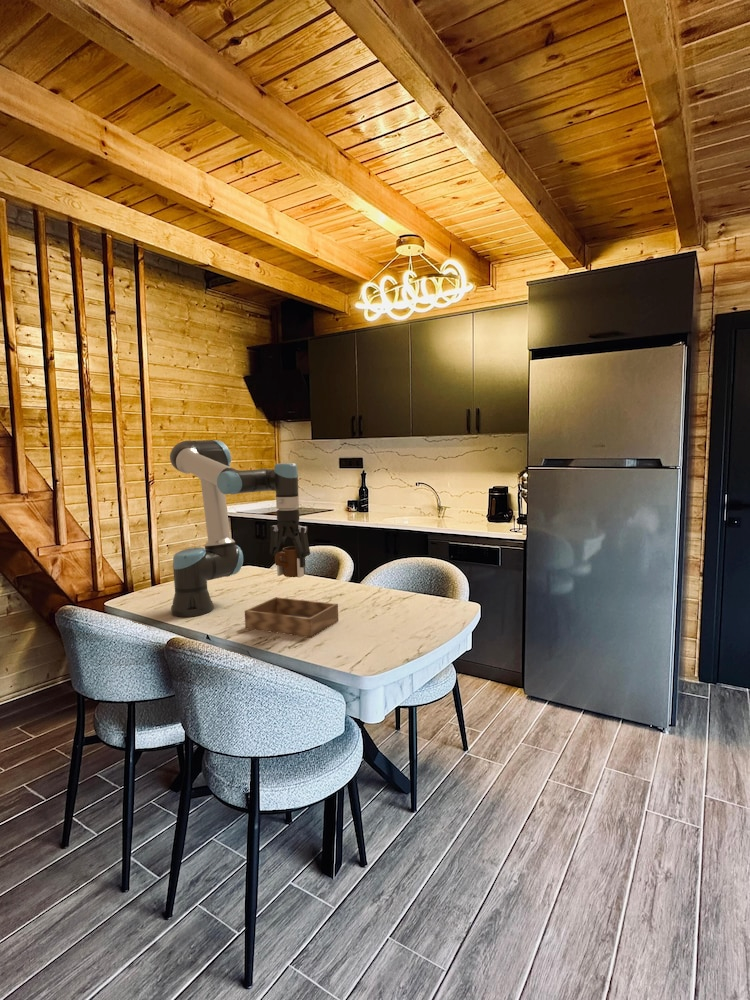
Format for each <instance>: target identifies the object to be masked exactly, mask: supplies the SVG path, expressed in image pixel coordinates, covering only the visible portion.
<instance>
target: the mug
mask: <svg viewBox="0 0 750 1000" xmlns="http://www.w3.org/2000/svg"><path fill="white" fill-rule="evenodd" d="M280 556H282V560H283V561H280V559H279V557H280ZM298 557H299V556H298V553H297V550H296V548H295V545H292V546H287V547H285V546H284V547H283V549H282V551H281V552H278V553H277V554H276V555H275V556H274V564H275V563H276V564H277V565H278V566H283V576H284V577H287V578H298V572H297V558H298ZM276 564H275V565H276ZM277 565H276V566H277ZM305 574H306V566H305V567H304V575H305Z"/></svg>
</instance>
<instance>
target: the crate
mask: <svg viewBox="0 0 750 1000" xmlns="http://www.w3.org/2000/svg"><path fill="white" fill-rule="evenodd" d="M290 614H296V615H304V616H312V617H310V618H306V617H298V616H289V615H290ZM338 621H339V604H338V603H332V602H323V601H322V602H321V601H314V600H304V599H297V598H296V599H295V598H288V597H287V598H286V597H279V596H278V597H277V596H276V597H273V598H271V599H268V600H266V601H264V602H262V603H260V604H258V605H255V606H253V607H250V608H248V609H246V610H244V623H245V626H244V627H245V629H247V628H248V629H247V630H254V629H256V630H257V631H261V630H264V631H263V632H268V631H271V632H270V633H275V632H278V633H277V634H282V633H285V634H284V635H289V634H292V635H291V636H296V635H300V636H299V637H303V636H307V637H306V638H310V637H311V638H313V637H315V636H316V635H318V634H320V633H321V632H323V631H325V630H326V629H327V627H328V628H329V627H331V626H333V625H334V624H336V623H338ZM325 628H326V629H325ZM256 630H255V631H256ZM322 630H323V631H322ZM319 632H320V633H319ZM317 633H318V634H317ZM314 635H315V636H314ZM312 636H313V637H312Z"/></svg>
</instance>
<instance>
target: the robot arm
mask: <svg viewBox="0 0 750 1000" xmlns="http://www.w3.org/2000/svg"><path fill="white" fill-rule="evenodd" d="M172 447H173V448H172V449H171V451H170V454H169V461H170V463H171V466H172V467H173V468H174V469H175V470H177V471H179V472H180V473H183V474H186V475H187V474H192V475H195V476H196V477H197V478H198V479H199V480H200V486H201V492H202V493H201V494H202V502H203V510H204V519H205V525H206V526H205V527H206V533H207V534H206V535H207V541H206V543H205V544H204V547H201V546H200V547H199V546H197V547H191V548H186V549H183V550H179V551H178V552H176V553H175V554H174V556H173V558H172V559H173V560H172V568H173V569H172V570H173V583H174V585H173V586H174V594H173V600H172V605H171V607H170V613H171V615H172V616H175V617H178V616H179V618H189V617H198V616H202V615H206V614H208V613H210V612H212V611H213V610H214V602H213V600H212V598H211V595H210V593H209V590H208V581H213V580H216V579H220V578H224V577H225V578H226V577H231V576H232V575H236V574H238V573H239V572H240V570H242V568H243V563H244V554H243V550H242V549H241V547H240V546H239V545H237V544H236V541H235V540H234V539H233V538H231V533H230V522H229V517H228V516H229V515H228V507H227V497H226V495H239V494H245V493H246V494H247V493H256V492H275V498H276V499H275V500H276V502H275V503H276V504H275V505H276V509H277V510H276V520H277V524H275V525H270V526H269V529H270V543H269V554H270V555H273V556H274V557H275V555H276V554H277V553H278V552H281V551H282V549H283V548H284V547H285V546H284V545H285V542H286V539H287V538H288V537H289V538H290V539H291V540H292V542H293V544H294V545H293V546H295V548H296V550H297V553H298V556H299V557H298V558H297V572H298V577H297V578H302V577H304V576H305V574H304V567H305V568H306V557H309V556H310V555H311V551H310V550H311V549H310V544H309V539H308V538H309V537H308V529H309V528H308V526H306V525H305V526H302V525H301V524H300V510H299V508H300V499H299V473H298V466H297V464H296V463H295V462H291V463H290V462H289V463H287V462H285V463H284V462H282V463H281V462H280V463H276V464H275V465H274V468H273V469H271V468H259V469H246V470H244V469H243V470H238V469H236V468H234V467H232V466H231V462H232V455H231V451H230V449H229V447H228V446H227V444H225V443H224V442H223V441H221V440H214V439H209V440H183V441H180V442H177V443H176V444H175V445H174V446H172ZM279 559H280V561H283V560H282V556H280V557H279ZM274 565H275V566H276V569H277V570H276V572H277V576H279V577H280V576H282V575H283V566H278V565H277V564H276V563H275V562H274ZM283 576H284V575H283Z"/></svg>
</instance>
